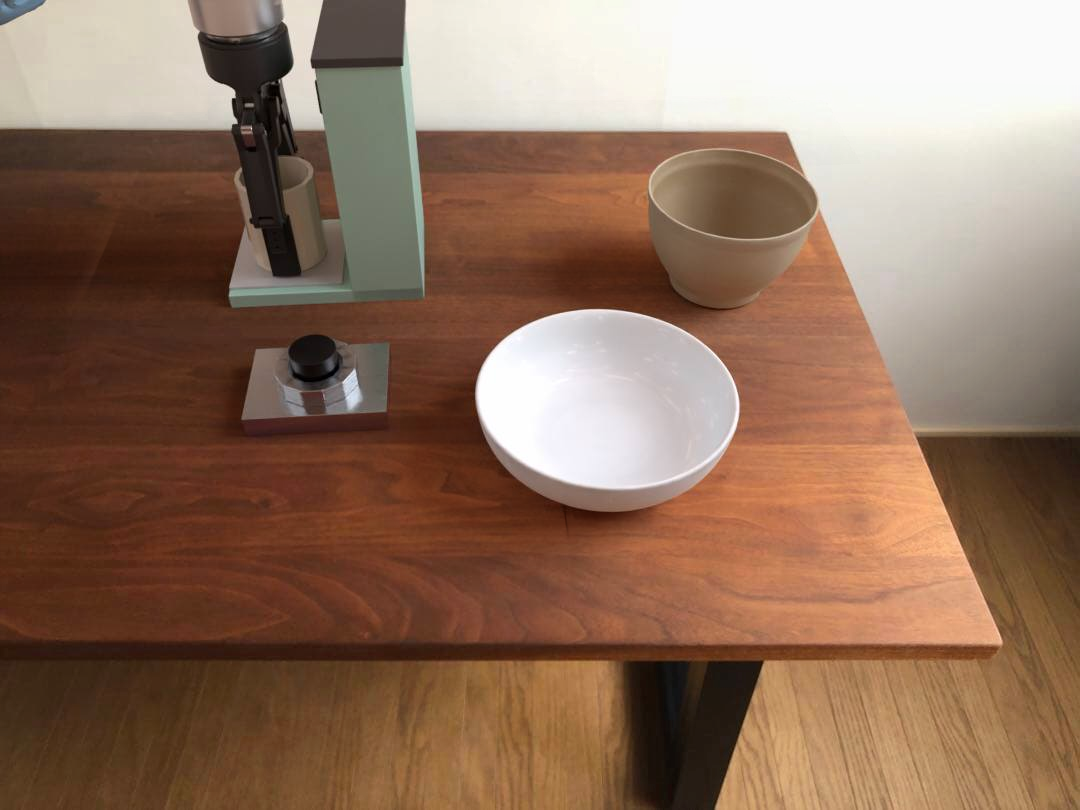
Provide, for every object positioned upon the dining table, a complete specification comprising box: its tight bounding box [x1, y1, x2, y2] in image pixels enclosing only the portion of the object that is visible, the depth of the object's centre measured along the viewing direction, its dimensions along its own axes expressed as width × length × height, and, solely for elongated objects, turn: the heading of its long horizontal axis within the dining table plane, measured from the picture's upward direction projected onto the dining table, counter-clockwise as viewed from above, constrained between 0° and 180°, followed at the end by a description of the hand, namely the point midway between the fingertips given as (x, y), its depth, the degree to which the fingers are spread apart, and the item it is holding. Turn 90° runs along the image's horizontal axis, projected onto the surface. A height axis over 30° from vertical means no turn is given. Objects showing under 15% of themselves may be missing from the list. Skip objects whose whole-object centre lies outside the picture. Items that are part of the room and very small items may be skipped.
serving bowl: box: [474, 308, 740, 513], centre depth 73 cm, size 21×21×7 cm
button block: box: [240, 337, 393, 438], centre depth 78 cm, size 12×9×4 cm
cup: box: [233, 155, 328, 272], centre depth 89 cm, size 7×7×9 cm
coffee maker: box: [227, 0, 425, 309], centre depth 85 cm, size 19×13×25 cm
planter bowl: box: [647, 147, 820, 309], centre depth 88 cm, size 16×16×11 cm
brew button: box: [288, 333, 339, 382], centre depth 76 cm, size 4×4×2 cm
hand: (291, 250), depth 92 cm, fingers closed on cup, 7 cm apart
